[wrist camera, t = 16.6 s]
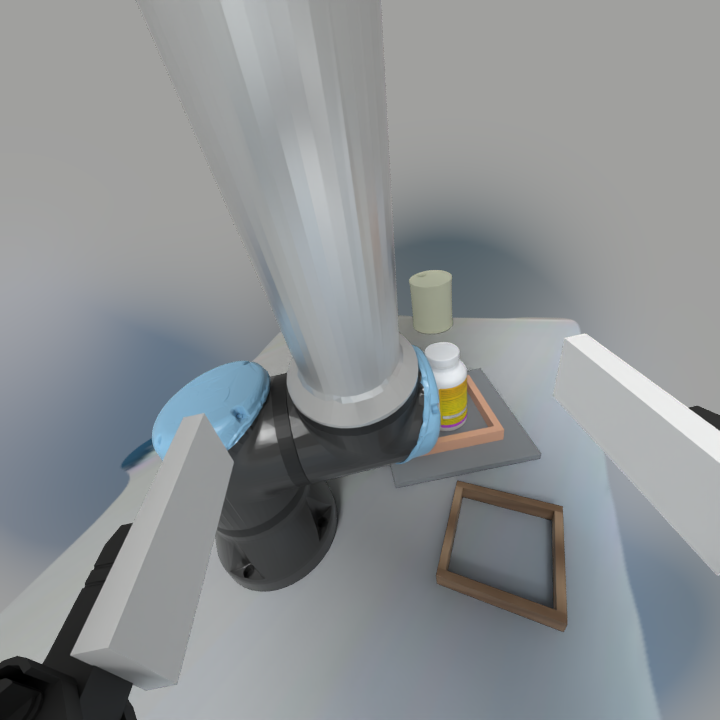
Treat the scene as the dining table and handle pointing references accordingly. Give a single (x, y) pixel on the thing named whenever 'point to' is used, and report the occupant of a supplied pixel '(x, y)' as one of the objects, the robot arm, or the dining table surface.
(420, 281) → the can
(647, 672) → the dining table surface
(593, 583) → the dining table surface
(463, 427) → the mat
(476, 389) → the collar
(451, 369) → the supplement bottle
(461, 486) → the collar
